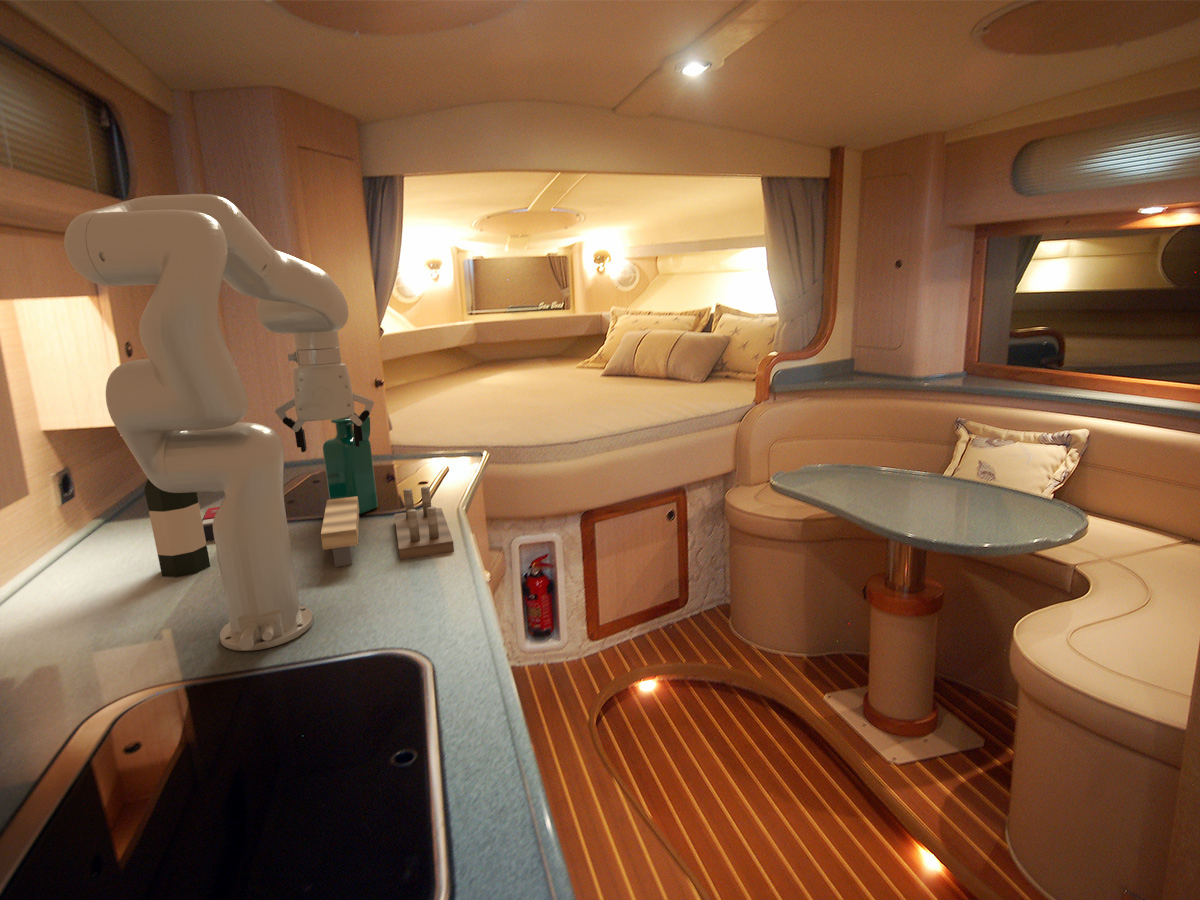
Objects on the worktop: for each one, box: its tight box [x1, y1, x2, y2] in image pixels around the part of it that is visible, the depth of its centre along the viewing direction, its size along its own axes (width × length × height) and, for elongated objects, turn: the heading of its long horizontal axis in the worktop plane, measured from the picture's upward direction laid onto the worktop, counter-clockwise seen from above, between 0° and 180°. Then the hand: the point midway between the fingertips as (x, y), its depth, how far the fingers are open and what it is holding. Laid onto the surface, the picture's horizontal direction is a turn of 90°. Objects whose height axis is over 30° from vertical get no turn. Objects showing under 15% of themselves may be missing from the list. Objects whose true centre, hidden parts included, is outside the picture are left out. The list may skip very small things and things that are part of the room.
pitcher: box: [322, 415, 379, 515], centre depth 155 cm, size 10×8×22 cm
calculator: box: [202, 506, 220, 543], centre depth 149 cm, size 11×4×15 cm
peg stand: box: [393, 486, 455, 560], centre depth 138 cm, size 22×10×8 cm, turn 18°
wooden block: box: [320, 496, 360, 551], centre depth 134 cm, size 22×6×3 cm, turn 18°
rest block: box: [332, 545, 354, 568], centre depth 134 cm, size 20×3×4 cm, turn 18°
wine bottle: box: [144, 478, 211, 578], centre depth 124 cm, size 8×8×30 cm
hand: (331, 448), depth 130 cm, fingers open, 9 cm apart
